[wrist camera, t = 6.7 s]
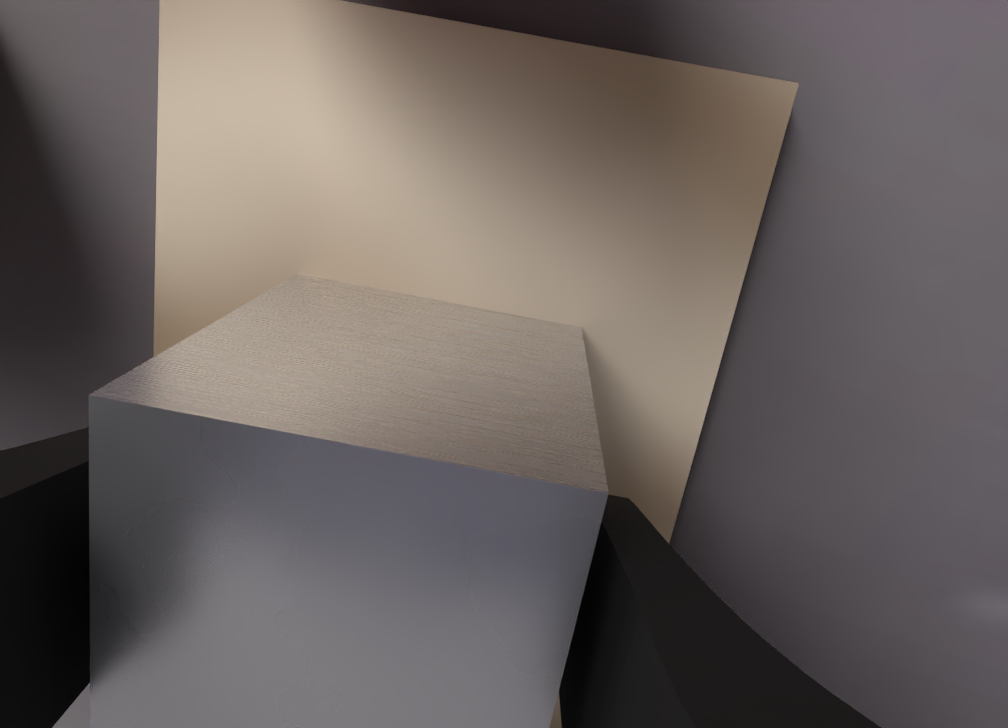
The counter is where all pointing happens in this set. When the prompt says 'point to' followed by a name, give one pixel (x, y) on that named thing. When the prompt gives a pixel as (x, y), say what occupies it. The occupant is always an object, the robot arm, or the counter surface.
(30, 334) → the counter surface
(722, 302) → the board
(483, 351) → the brushed gray cube
